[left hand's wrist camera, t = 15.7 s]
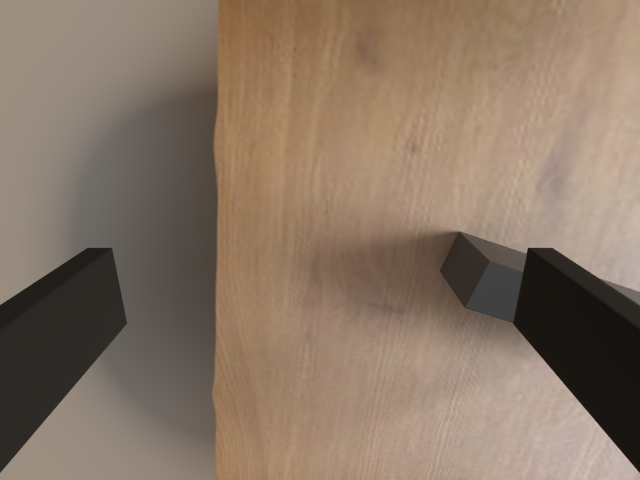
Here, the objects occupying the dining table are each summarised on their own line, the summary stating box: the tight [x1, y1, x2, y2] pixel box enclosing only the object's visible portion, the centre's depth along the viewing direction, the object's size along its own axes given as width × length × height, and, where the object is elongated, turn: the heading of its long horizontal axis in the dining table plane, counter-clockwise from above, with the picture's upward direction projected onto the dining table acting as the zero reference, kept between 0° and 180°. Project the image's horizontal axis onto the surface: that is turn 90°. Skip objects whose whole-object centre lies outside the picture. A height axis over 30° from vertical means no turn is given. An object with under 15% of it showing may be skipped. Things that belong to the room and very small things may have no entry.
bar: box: [440, 232, 640, 323], centre depth 42 cm, size 26×5×8 cm, turn 71°
